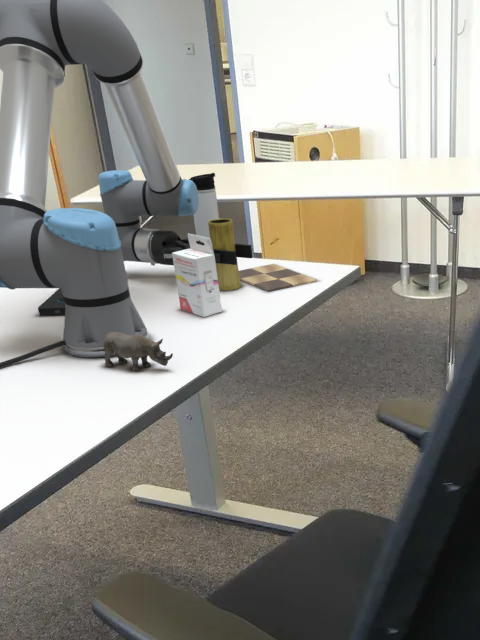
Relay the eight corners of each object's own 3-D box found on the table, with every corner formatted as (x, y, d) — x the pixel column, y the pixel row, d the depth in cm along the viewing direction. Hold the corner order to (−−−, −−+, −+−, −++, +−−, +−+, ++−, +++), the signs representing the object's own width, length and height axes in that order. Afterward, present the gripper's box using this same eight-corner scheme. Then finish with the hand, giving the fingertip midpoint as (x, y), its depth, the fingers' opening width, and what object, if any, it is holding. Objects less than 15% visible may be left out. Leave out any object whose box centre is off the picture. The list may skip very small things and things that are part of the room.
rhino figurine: (168, 376, 129) (162, 341, 125) (101, 367, 133) (93, 334, 130) (181, 367, 132) (175, 333, 128) (115, 359, 136) (108, 326, 133)
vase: (244, 283, 176) (236, 217, 168) (238, 290, 171) (230, 223, 163) (218, 283, 177) (210, 218, 169) (211, 290, 172) (202, 223, 164)
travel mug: (223, 260, 195) (212, 175, 183) (197, 261, 195) (185, 176, 184) (226, 254, 200) (216, 171, 189) (202, 255, 200) (190, 172, 189)
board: (268, 291, 170) (268, 290, 169) (227, 274, 183) (227, 273, 183) (316, 281, 176) (316, 279, 176) (273, 265, 189) (273, 263, 189)
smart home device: (35, 308, 158) (64, 282, 175) (37, 316, 159) (66, 289, 176) (75, 306, 158) (100, 280, 175) (77, 314, 159) (102, 288, 176)
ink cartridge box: (179, 310, 160) (167, 236, 152) (198, 304, 163) (187, 232, 155) (204, 317, 155) (193, 242, 147) (223, 311, 158) (213, 237, 150)
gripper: (186, 254, 185) (267, 262, 177) (136, 273, 172) (222, 282, 163) (181, 222, 181) (263, 228, 172) (130, 238, 167) (217, 246, 159)
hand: (243, 254), depth 168 cm, fingers closed on vase, 5 cm apart
